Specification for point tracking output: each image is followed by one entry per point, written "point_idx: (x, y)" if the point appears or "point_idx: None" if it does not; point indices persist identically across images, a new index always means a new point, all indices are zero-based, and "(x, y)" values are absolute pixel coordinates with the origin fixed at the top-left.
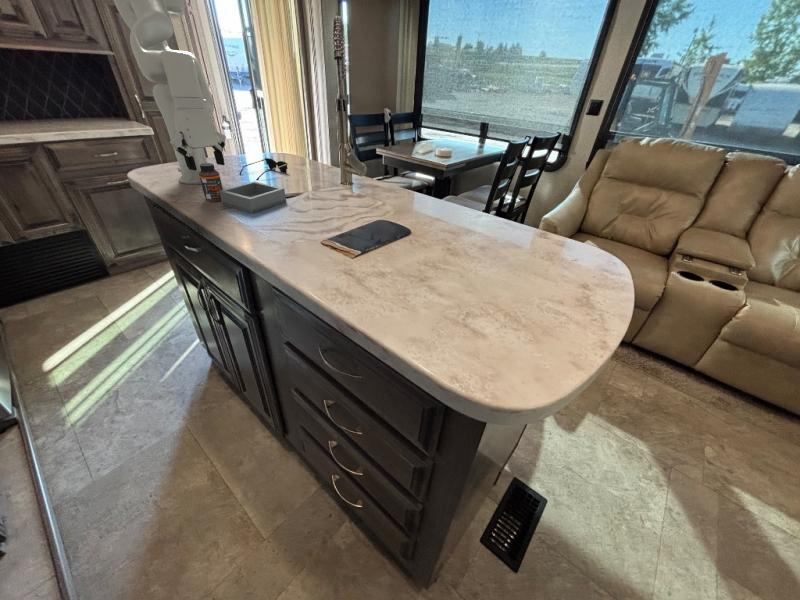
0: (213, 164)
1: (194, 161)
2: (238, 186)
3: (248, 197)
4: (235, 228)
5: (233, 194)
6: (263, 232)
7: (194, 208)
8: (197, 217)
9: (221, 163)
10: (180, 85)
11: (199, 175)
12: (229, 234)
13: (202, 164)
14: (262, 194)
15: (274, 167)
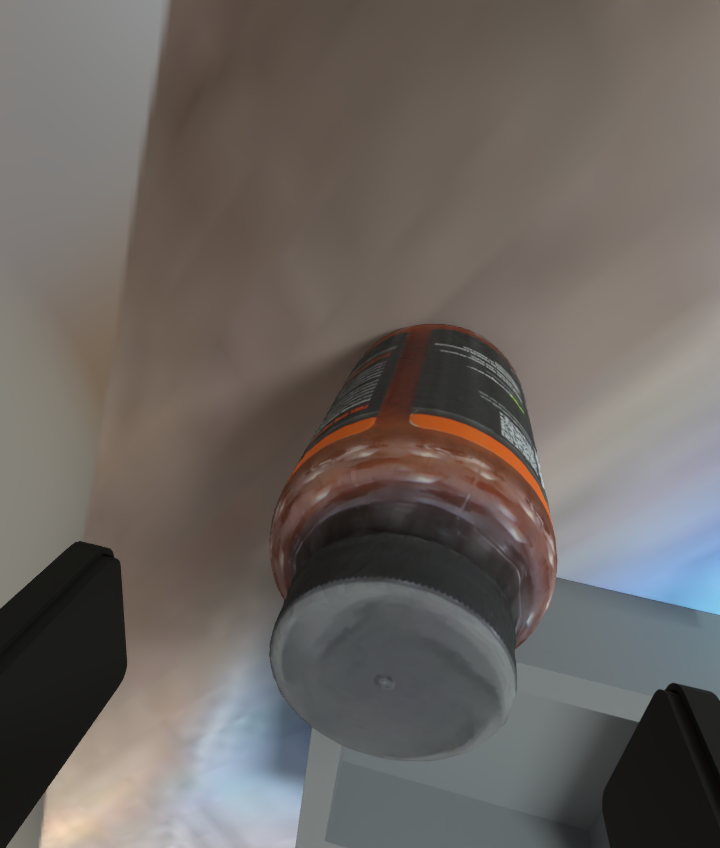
0: (465, 752)
1: (33, 802)
2: (529, 685)
3: (316, 831)
4: (135, 752)
5: (312, 741)
6: (176, 842)
7: (186, 406)
8: (102, 537)
9: (611, 811)
10: None
11: (279, 499)
12: (82, 756)
13: (336, 637)
14: None
15: None
